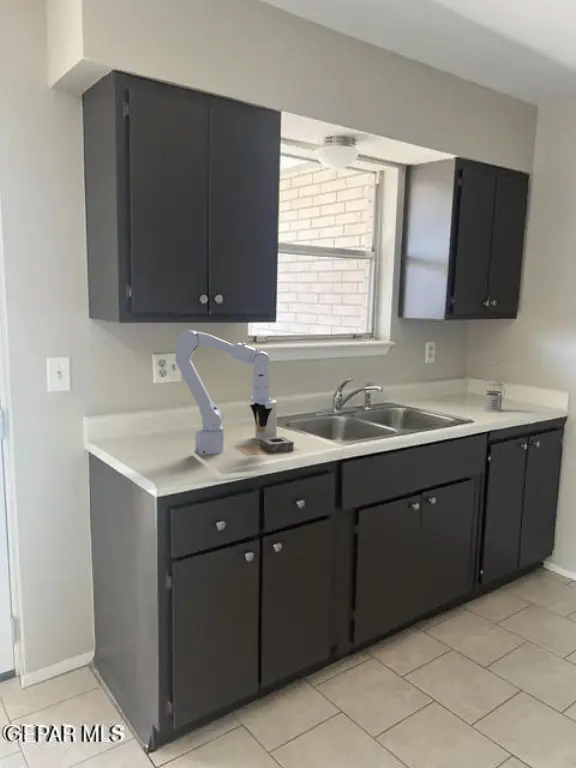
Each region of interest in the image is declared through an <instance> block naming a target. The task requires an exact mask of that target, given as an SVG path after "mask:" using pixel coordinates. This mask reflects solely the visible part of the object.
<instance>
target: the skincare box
mask: <svg viewBox="0 0 576 768" xmlns="http://www.w3.org/2000/svg"><path fill="white" fill-rule="evenodd" d="M271 402H272V410H271V412H270V414H269V417H268V421H267V425H266V427H265V432H264V433H258V432H257V425H256V423H255V424H254V428H255V430H254V431H255V433H254V435H255V436H254V437H255V440H258V441H260V439H263V438H274V437H278V435H277V433H278V431H277V429H278V426H277V400H276V399H273V401H271Z"/></svg>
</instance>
